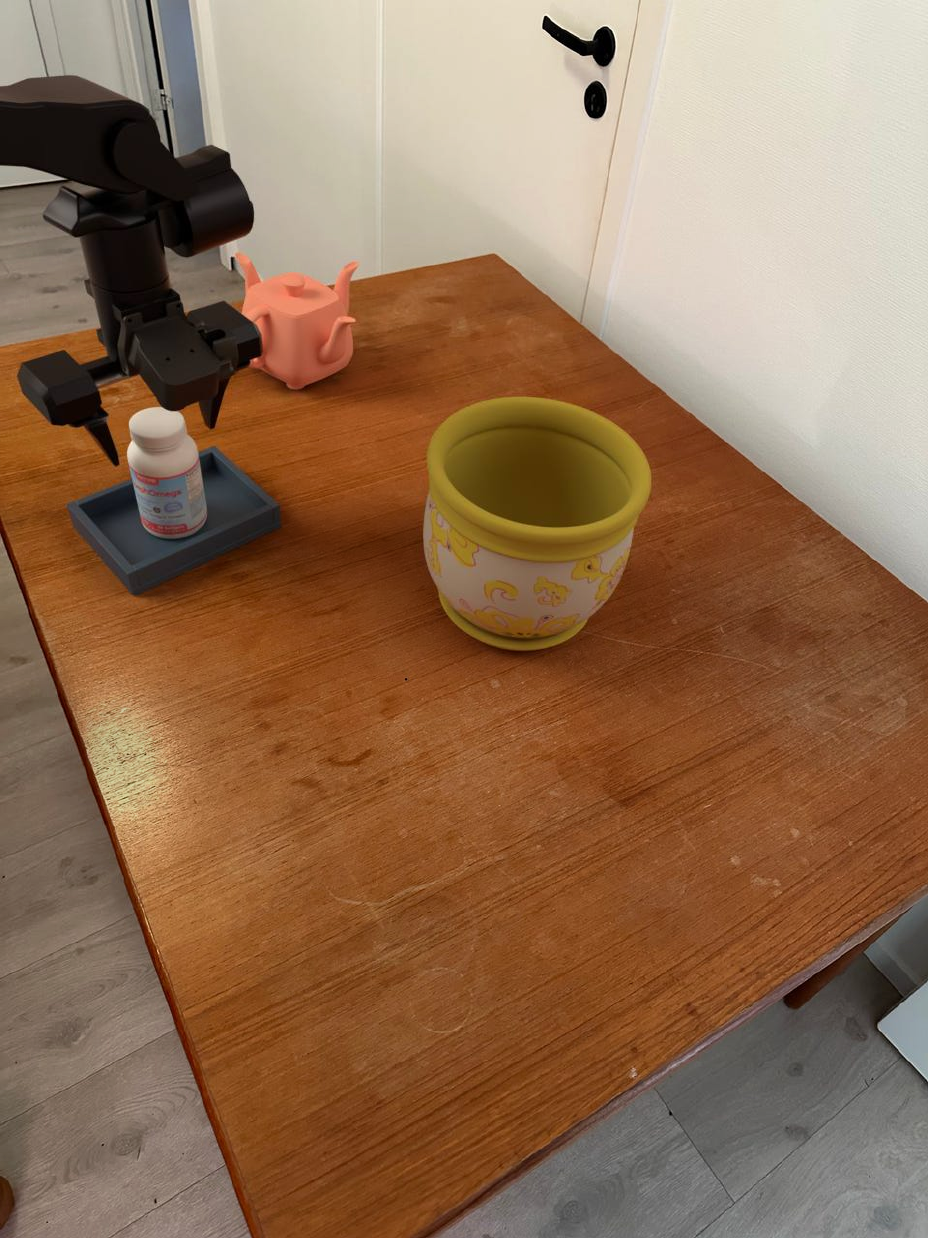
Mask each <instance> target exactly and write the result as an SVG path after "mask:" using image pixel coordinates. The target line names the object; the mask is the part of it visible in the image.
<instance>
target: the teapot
mask: <svg viewBox="0 0 928 1238" xmlns="http://www.w3.org/2000/svg"><path fill="white" fill-rule="evenodd" d="M234 256H235V258H236V260H237V262H238V263H239V265H240V267H241V269H242V272H243V276H244V285H245V297H244V301H243V305H242V310H241V313H242V314H243V315H244V316H246V317H247V318H248V319H249V320H251V321H252V322H253V323H255V324H256V325H257V326H258V328H259V330H260V332H261V335H262V346H263V353H262V355H261V356H260V357H257V358H255V359H252V360H250V361H251V362H250V365H249V366H248V368H250V369H253V370H259V369H260V370H262V371H263V372H265V373H266V374H268V375H269V376H271V377H273V378H275V379H277V380H280V381H282V382H284V383H286V386H287V388H289V389H290V390H300V389H303V388H304V387H306V386H307V385H310V384H313V383H315V382H318V381H321V380H323V379H326V378H327V377H330V376H332V375H334V374H335V373H338V372H339V371H341V370H343V369H344V368H345V367H347V366H348V364H349V363H350V361H351V359H352V356H353V353H354V340H353V339H354V338H353V334H352V328H351V324H353V323H355V322H356V318H354V317H353V316H352V317H351V316H348V314H349V311H350V310H349V309H350V285H351V284H350V283H351V280H352V277H353V275H354V273H355V271H356V270H357V268H358V267H359V266H360V262H359V261H352V262H349V263H347V264H345V266H343V267H342V269H341V270H340V272H339V273H338V276H337V278H336V281H335V284H334V287H333V289H332V288H330V287H329V286H327V285H326V284H324V283H323V282H321V281H319V280H317V279H315V278H313V277H310V276H308V275H305V274H303V273H300V272H296V271H290V272H285V273H282V274H279V275H276V276H272V277H270V278H267V279H265V280H261V278H260V276H259V273H258V271H257V269H256V267H255V265H254V263H253V262H252V261H251V259H250V258H249V257H247V256H246V255H245V254H243V253H240V252H236V253H235V254H234Z"/></svg>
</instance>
